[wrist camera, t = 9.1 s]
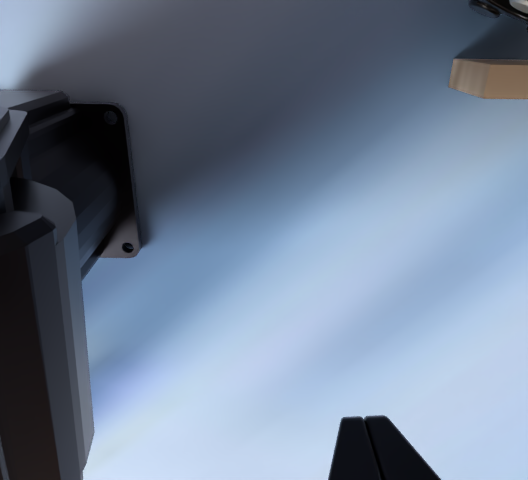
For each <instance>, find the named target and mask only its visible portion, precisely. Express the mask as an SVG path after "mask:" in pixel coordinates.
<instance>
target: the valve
mask: <svg viewBox="0 0 528 480" xmlns="http://www.w3.org/2000/svg"><path fill="white" fill-rule="evenodd" d="M469 7H470V8H471V9H472V10H474V11H475V12H477V13H479V14H481V15H484V16H487V17H490V18H497V17H499V16H500V14H503V15H507V16H509V17H512V18H514V19H516V20H519V21H521V22H523V23H525V24H527V25H528V0H470V2H469ZM526 30H527V32H528V27H527V28H526Z"/></svg>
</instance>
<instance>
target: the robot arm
mask: <svg viewBox="0 0 528 480" xmlns="http://www.w3.org/2000/svg"><path fill="white" fill-rule="evenodd" d="M108 111H112V112H114V113H115V114H116V115H117V122H116V123H114V122H111V121H110V120H109V119H108V116H107V114H108ZM126 242H128V243H131V244H132V245H133V247H134V248H133V249H129V248H127V247H126V246H125V244H124V243H126ZM141 246H142V242H141V233H140V225H139V216H138V208H137V199H136V190H135V182H134V173H133V164H132V156H131V147H130V138H129V130H128V121H127V115H126V112H125V110H124V109H123V107H122V106H120V105H119V104H117V103H109V102H70V101H69V96H68V95H66V94H65V93H64V92H62V91H39V90H0V480H83V469H84V467H85V465H86V463H87V459H88V455H89V451H90V447H91V444H92V440H93V436H94V422H93V410H92V398H91V386H90V375H89V363H88V351H87V340H86V328H85V316H84V305H83V293H82V280H83V279H84V277H85V276H86V275H87V273H88V272H89V271H90V269H91V268H92V267H93V265H94V264H95V262H96V261H97V260H98V258H99V257H101V258H132V257H135V256H136V255H137V254H138V253H139V251H140V249H141ZM328 480H441V479H440V478H439V477H438V475H437V474H436V473H435V472H434V471H433V470H432V468H431V467H430V466H429V465H428V464H427V463H426V461H425V460H424V459H423V458H422V457H421V456H420V454H419V453H418V452H417V451H416V450H415V449H414V447H413V446H412V445H411V444H410V443H409V442H408V440H407V439H406V438H405V437H404V436H403V435H402V434H401V432H400V431H399V430H398V429H397V428H396V427H395V425H394V424H393V423H392V422H391V421H390V420H389V418H387V417H386V416H383V415H379V416H366V417H365V418H364V419H363V418H362V417H360V416H357V417H343V418H342V419H341V422H340V426H339V431H338V436H337V440H336V445H335V450H334V454H333V459H332V464H331V469H330V473H329V478H328Z"/></svg>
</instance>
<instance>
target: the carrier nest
mask: <svg viewBox="0 0 528 480" xmlns="http://www.w3.org/2000/svg"><path fill="white" fill-rule="evenodd" d="M448 87H450V88H453V89H456V90H459V91H462V92H465V93H468V94H471V95H474V96H477V97H480V98H483V99H528V60H508V59H453V64H452V70H451V75H450V81H449V86H448Z"/></svg>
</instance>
